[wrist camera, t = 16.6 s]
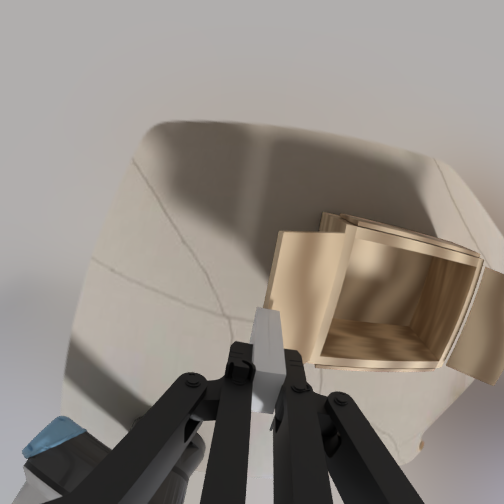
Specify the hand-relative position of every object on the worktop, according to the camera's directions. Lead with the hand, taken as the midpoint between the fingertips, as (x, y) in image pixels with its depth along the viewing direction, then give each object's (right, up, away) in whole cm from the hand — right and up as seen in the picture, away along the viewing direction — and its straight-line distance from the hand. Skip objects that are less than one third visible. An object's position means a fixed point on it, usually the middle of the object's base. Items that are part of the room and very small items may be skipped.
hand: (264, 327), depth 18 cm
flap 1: (+3, 0, +3) cm, 4 cm away
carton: (+15, +1, +16) cm, 22 cm away
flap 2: (+26, -4, +3) cm, 27 cm away
